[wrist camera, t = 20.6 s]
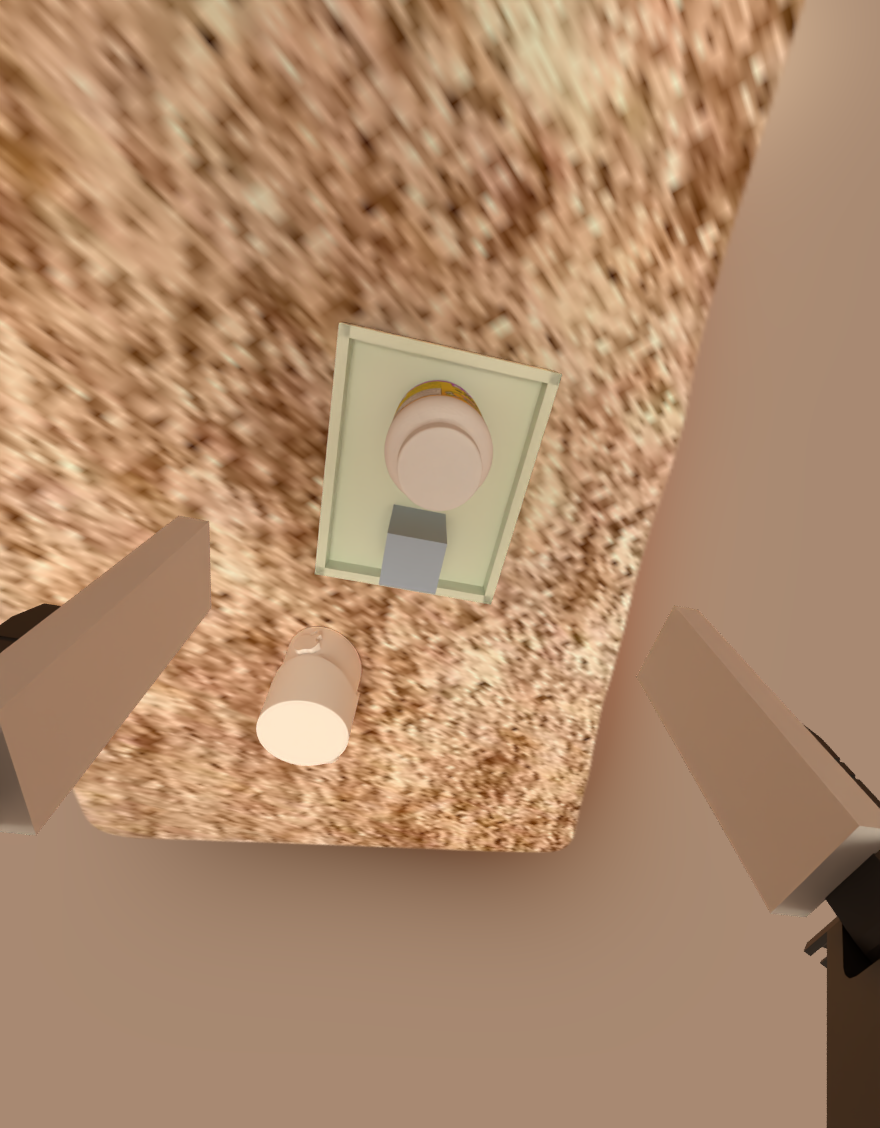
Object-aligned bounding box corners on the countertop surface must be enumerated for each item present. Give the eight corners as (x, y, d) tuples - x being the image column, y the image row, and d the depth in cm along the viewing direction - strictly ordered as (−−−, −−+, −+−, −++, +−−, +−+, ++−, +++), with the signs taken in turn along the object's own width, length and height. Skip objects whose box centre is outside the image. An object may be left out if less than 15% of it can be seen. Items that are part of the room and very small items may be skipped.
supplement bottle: (491, 447, 37) (516, 505, 26) (414, 476, 38) (407, 544, 27) (463, 363, 34) (478, 387, 23) (381, 397, 35) (356, 436, 24)
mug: (238, 699, 38) (333, 687, 37) (273, 631, 46) (351, 620, 46) (283, 793, 43) (366, 784, 43) (307, 717, 52) (377, 709, 51)
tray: (344, 322, 33) (338, 322, 31) (555, 371, 35) (562, 374, 33) (320, 562, 43) (314, 574, 41) (488, 592, 44) (490, 604, 42)
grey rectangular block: (385, 550, 41) (378, 584, 36) (393, 504, 39) (387, 533, 34) (435, 559, 42) (435, 594, 37) (445, 514, 40) (447, 544, 34)
